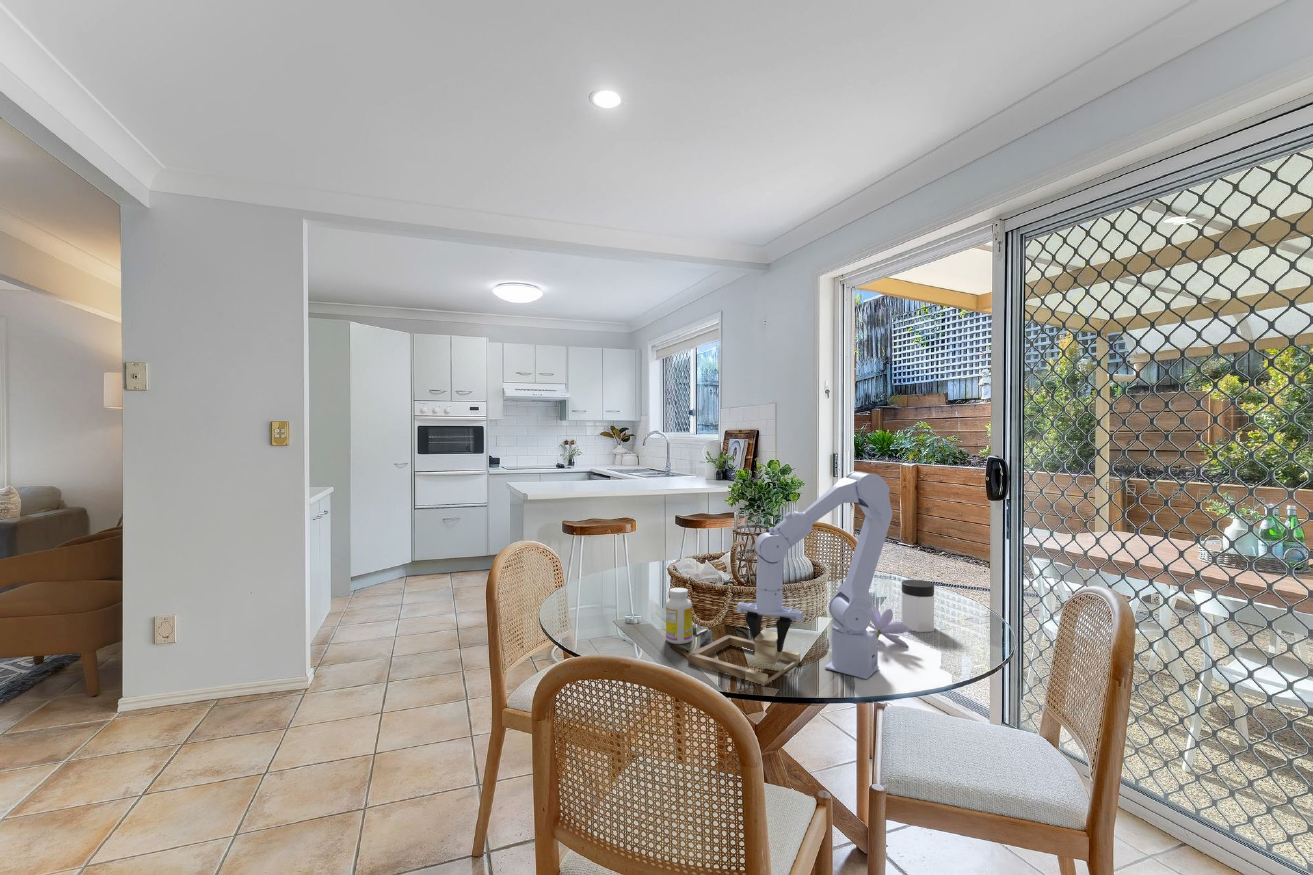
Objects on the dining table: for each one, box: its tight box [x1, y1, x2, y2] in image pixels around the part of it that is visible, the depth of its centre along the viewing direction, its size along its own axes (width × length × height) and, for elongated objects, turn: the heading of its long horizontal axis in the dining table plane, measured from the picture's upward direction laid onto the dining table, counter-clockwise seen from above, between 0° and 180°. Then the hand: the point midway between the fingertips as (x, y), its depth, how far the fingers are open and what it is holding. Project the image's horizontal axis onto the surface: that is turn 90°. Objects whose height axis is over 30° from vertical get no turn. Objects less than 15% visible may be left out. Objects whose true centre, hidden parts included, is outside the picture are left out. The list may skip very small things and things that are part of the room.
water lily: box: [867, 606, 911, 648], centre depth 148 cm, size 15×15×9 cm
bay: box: [687, 634, 801, 685], centre depth 138 cm, size 20×17×2 cm
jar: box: [900, 579, 935, 633], centre depth 163 cm, size 9×8×12 cm
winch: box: [692, 626, 713, 647], centre depth 148 cm, size 7×3×5 cm, turn 141°
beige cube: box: [753, 629, 782, 666], centre depth 134 cm, size 5×6×5 cm
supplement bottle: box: [665, 587, 693, 645], centre depth 152 cm, size 7×7×13 cm
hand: (768, 648), depth 134 cm, fingers closed on beige cube, 4 cm apart
